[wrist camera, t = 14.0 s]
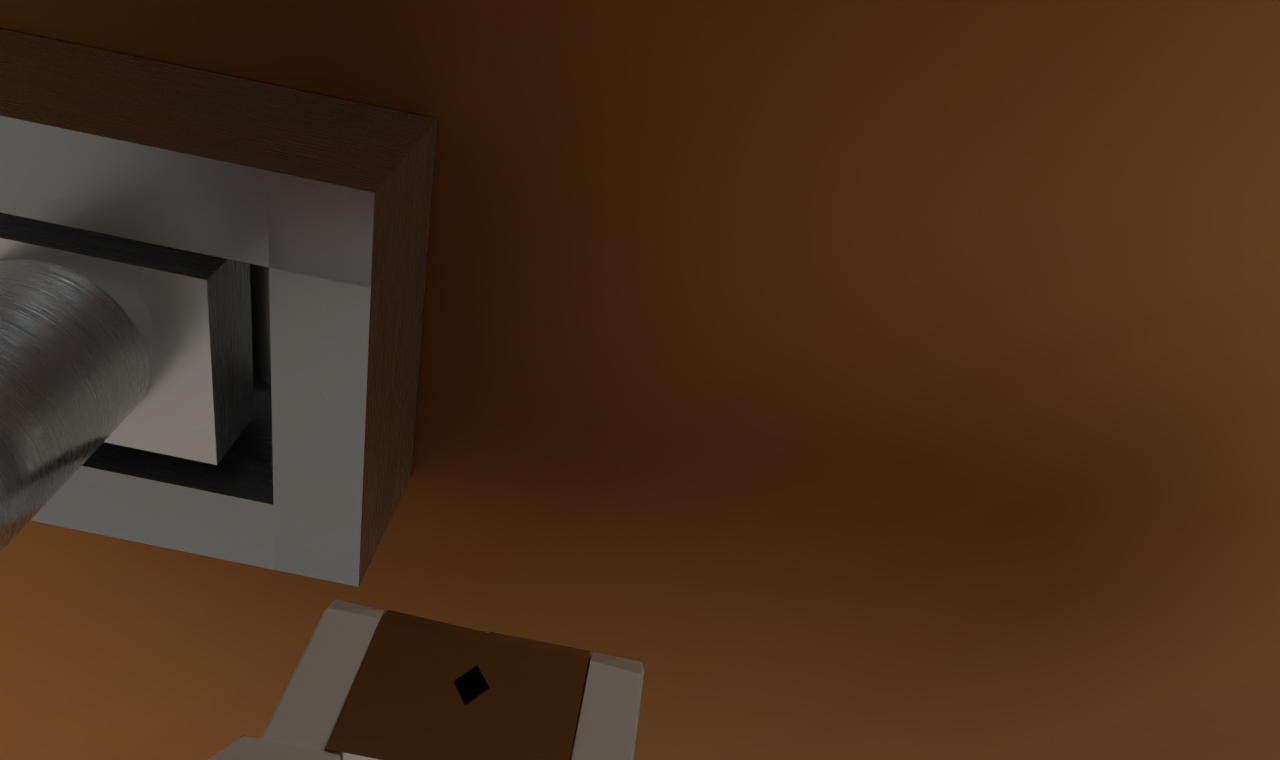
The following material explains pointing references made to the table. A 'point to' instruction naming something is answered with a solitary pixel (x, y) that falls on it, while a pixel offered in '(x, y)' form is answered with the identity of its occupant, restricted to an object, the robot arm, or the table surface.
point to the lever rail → (279, 280)
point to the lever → (113, 355)
